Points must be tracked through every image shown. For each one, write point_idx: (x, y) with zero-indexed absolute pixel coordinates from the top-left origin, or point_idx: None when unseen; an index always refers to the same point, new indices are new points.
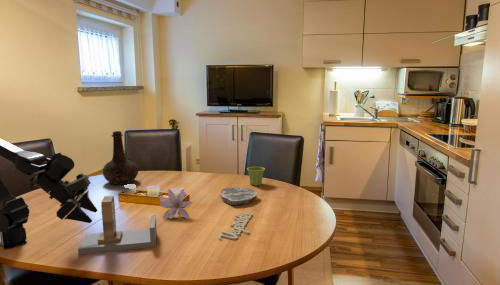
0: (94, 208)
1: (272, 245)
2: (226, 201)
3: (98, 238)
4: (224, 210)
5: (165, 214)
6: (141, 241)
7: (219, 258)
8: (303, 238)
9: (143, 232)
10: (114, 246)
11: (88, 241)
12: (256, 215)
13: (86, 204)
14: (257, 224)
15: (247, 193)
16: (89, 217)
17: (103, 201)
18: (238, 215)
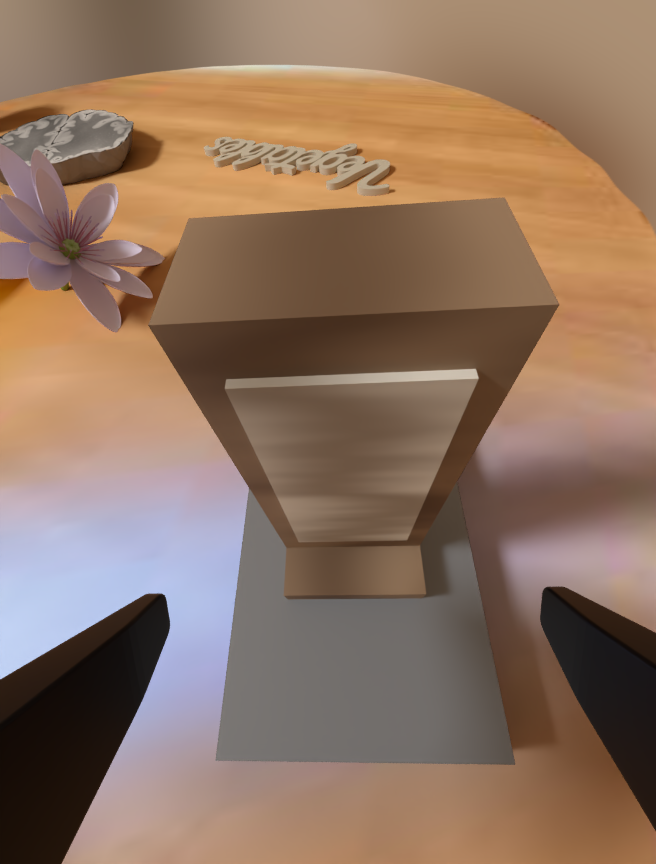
0: (138, 631)
1: (434, 125)
2: (82, 174)
3: (395, 593)
4: (150, 184)
5: (92, 313)
6: None
7: (511, 193)
8: (403, 93)
9: None
10: (455, 485)
11: (377, 690)
12: (232, 137)
13: (4, 839)
14: (297, 138)
15: (76, 123)
16: (592, 616)
17: (512, 279)
18: (221, 157)
